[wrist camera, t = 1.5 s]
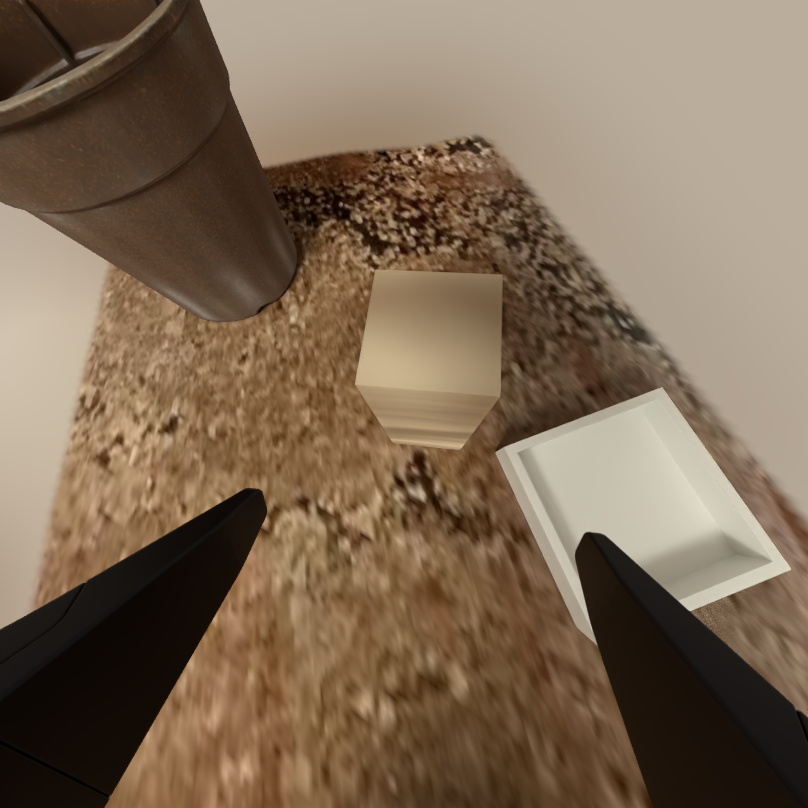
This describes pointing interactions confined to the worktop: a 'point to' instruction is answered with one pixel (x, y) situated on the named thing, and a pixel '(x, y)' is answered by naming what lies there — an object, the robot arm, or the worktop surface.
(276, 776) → the worktop surface
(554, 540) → the tray
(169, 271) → the plant pot
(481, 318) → the beech block
